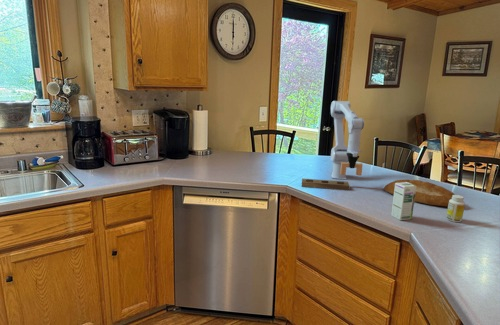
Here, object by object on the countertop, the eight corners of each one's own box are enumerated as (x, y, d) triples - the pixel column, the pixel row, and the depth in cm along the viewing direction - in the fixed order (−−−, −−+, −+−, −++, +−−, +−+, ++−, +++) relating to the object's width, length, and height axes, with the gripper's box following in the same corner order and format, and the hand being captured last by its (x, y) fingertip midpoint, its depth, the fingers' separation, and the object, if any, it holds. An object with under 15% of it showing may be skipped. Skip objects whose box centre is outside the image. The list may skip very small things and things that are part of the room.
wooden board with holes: (301, 182, 181) (302, 178, 180) (347, 186, 178) (347, 181, 177) (301, 186, 174) (301, 182, 174) (349, 190, 171) (349, 185, 170)
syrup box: (400, 220, 135) (405, 186, 131) (390, 215, 140) (395, 182, 137) (412, 219, 136) (417, 185, 133) (402, 214, 142) (406, 181, 138)
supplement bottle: (463, 220, 137) (467, 196, 135) (459, 224, 133) (464, 199, 131) (447, 216, 141) (452, 193, 138) (444, 219, 137) (448, 196, 134)
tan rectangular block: (340, 173, 178) (341, 162, 176) (360, 174, 176) (361, 163, 175) (340, 174, 175) (341, 163, 174) (361, 175, 174) (362, 164, 173)
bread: (390, 186, 180) (392, 170, 177) (466, 204, 156) (470, 186, 154) (377, 194, 167) (379, 177, 165) (458, 214, 144) (461, 194, 142)
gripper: (364, 144, 164) (361, 171, 167) (359, 139, 178) (357, 164, 181) (350, 144, 165) (347, 170, 168) (346, 139, 179) (343, 163, 182)
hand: (351, 167), depth 175 cm, fingers closed on tan rectangular block, 2 cm apart
